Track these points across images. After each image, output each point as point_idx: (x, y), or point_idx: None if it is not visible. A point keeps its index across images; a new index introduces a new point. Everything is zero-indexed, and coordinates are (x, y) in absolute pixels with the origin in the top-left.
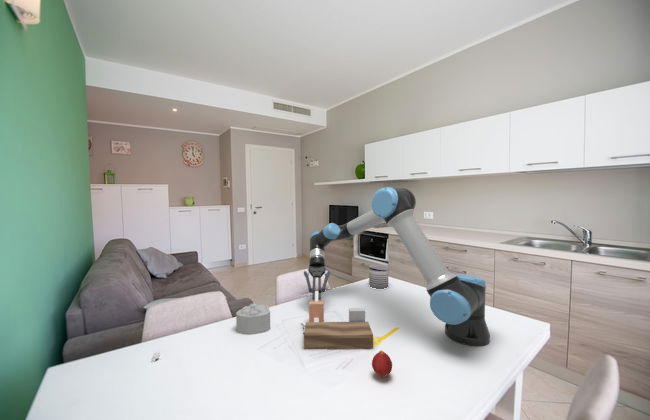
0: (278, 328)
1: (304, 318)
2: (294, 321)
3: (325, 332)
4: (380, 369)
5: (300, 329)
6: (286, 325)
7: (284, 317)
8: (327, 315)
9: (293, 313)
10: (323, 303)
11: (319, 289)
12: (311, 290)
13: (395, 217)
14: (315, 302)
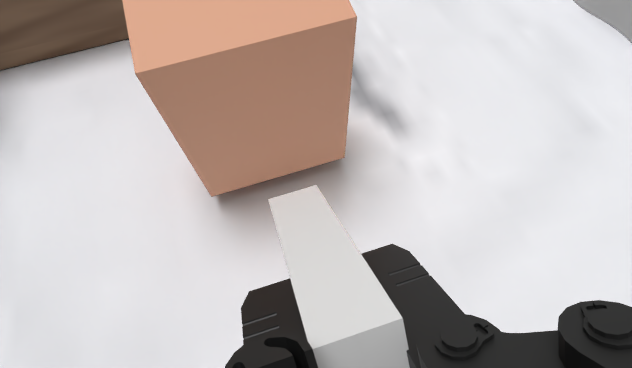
0: (522, 17)
1: (419, 214)
2: (475, 136)
3: None
4: None
5: (362, 44)
6: (496, 65)
7: (613, 179)
8: (204, 357)
9: (595, 290)
10: (126, 8)
11: (268, 346)
12: (526, 339)
13: None
14: (253, 8)
